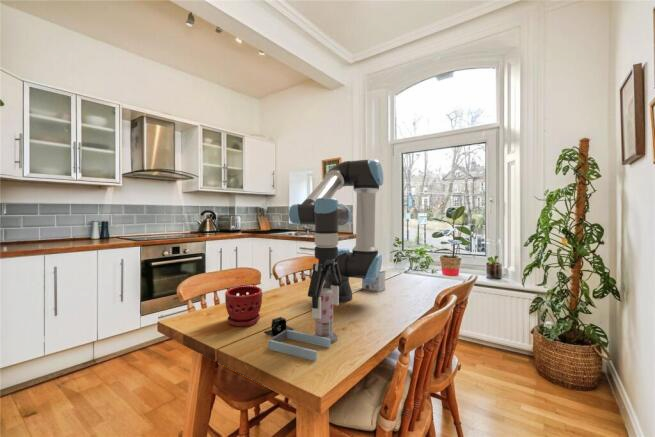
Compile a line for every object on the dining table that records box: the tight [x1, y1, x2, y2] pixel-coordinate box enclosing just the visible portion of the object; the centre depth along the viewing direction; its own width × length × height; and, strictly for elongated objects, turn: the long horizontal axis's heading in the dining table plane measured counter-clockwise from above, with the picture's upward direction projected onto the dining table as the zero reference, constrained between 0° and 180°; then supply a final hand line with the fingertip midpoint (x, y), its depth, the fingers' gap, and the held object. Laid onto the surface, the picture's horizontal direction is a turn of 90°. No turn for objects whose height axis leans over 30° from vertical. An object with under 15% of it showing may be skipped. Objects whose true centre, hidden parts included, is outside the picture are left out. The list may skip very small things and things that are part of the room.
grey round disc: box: [313, 332, 339, 344], centre depth 96 cm, size 8×8×1 cm
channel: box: [267, 329, 331, 362], centre depth 89 cm, size 10×16×2 cm, turn 64°
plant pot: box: [224, 285, 263, 327], centre depth 109 cm, size 13×13×12 cm
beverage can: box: [314, 287, 334, 339], centre depth 96 cm, size 6×6×15 cm
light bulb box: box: [361, 268, 386, 293], centre depth 158 cm, size 11×7×11 cm, turn 50°
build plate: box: [263, 316, 295, 338], centre depth 102 cm, size 12×7×5 cm, turn 135°
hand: (326, 310), depth 96 cm, fingers open, 13 cm apart
